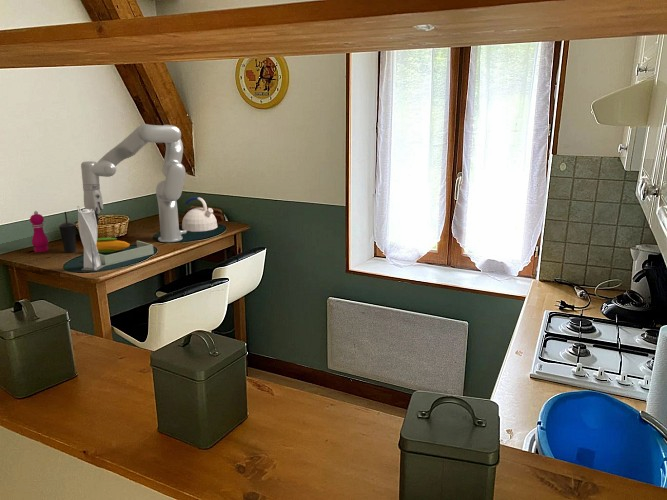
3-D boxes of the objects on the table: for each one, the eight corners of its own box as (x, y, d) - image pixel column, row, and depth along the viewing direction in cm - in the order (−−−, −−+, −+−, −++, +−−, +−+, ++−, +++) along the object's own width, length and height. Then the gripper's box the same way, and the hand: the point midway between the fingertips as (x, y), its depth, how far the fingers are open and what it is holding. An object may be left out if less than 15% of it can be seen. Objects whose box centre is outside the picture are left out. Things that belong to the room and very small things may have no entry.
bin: (138, 249, 279) (137, 240, 278) (153, 253, 272) (153, 244, 271) (90, 260, 260) (89, 251, 259) (105, 265, 253) (104, 256, 251)
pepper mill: (41, 253, 272) (35, 213, 267) (29, 251, 275) (23, 212, 269) (52, 249, 279) (47, 210, 273) (41, 248, 281) (36, 209, 276)
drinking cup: (76, 253, 272) (71, 213, 267) (59, 254, 271) (54, 213, 265) (80, 249, 279) (75, 210, 274) (64, 249, 278) (59, 210, 273)
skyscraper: (78, 269, 247) (70, 207, 239) (89, 264, 255) (81, 204, 247) (95, 270, 246) (88, 208, 238) (106, 265, 253) (99, 204, 246)
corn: (88, 235, 275) (130, 234, 278) (90, 250, 277) (132, 248, 280) (84, 240, 268) (127, 239, 271) (86, 255, 270) (129, 253, 273)
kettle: (200, 233, 312) (198, 201, 307) (174, 229, 322) (172, 198, 317) (225, 226, 328) (223, 196, 323) (199, 222, 339) (197, 193, 334)
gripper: (107, 188, 269) (110, 225, 274) (90, 184, 278) (93, 220, 283) (92, 189, 264) (95, 227, 268) (76, 186, 272) (79, 223, 277)
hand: (94, 224), depth 275 cm, fingers closed
